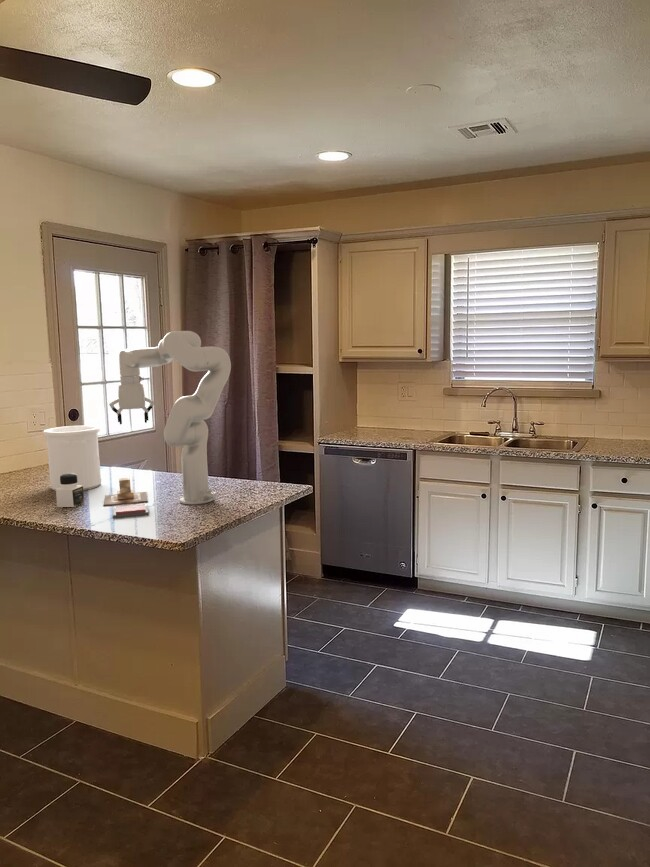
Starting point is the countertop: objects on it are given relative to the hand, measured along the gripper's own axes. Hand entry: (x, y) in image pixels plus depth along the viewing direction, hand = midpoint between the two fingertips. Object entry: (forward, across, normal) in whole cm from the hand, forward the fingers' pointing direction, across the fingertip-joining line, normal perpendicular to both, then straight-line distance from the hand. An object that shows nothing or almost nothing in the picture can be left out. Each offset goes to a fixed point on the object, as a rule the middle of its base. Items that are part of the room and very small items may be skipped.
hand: (133, 423), depth 271 cm
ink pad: (+28, +3, +34) cm, 44 cm away
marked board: (+28, +5, +11) cm, 31 cm away
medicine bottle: (+28, +25, +13) cm, 40 cm away
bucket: (+28, +25, -21) cm, 44 cm away
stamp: (+28, +5, +11) cm, 30 cm away
